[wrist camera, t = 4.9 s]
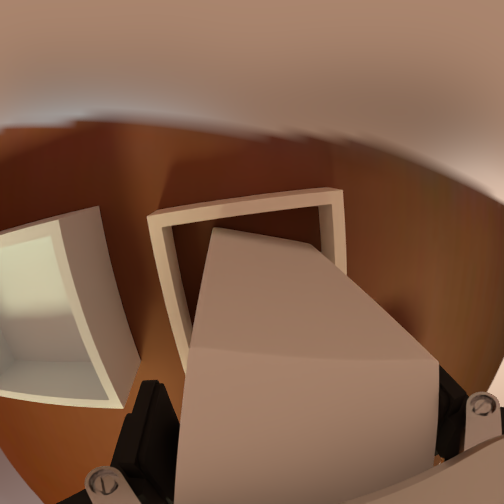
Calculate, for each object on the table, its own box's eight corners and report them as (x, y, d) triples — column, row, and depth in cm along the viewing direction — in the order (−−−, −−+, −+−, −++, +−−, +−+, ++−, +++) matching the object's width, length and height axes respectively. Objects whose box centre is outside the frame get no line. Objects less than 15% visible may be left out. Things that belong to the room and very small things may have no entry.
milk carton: (213, 225, 21) (167, 511, 2) (311, 242, 22) (518, 442, 3) (198, 317, 22) (172, 581, 4) (288, 329, 23) (381, 561, 5)
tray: (333, 334, 24) (345, 353, 21) (189, 356, 23) (186, 378, 20) (327, 187, 21) (342, 190, 18) (157, 209, 20) (146, 216, 17)
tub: (140, 361, 23) (123, 408, 17) (17, 361, 22) (-10, 393, 17) (99, 205, 20) (58, 219, 14) (-25, 239, 19) (-66, 256, 13)
